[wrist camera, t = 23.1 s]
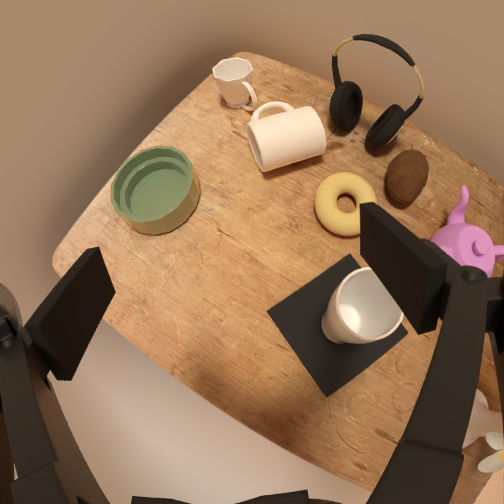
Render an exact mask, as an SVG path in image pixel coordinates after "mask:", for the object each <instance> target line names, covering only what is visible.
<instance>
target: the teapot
mask: <svg viewBox="0 0 504 504" xmlns="http://www.w3.org/2000/svg"><path fill="white" fill-rule="evenodd" d="M468 199H469V194H468V190H467V188H466V186H465V185H463V186H462V195H461V199H460V201H459V202H458V204H457V205H456V206H455V207H454V208H453V209H452V211H451V212H450V214H449V216H448V219H447V225H446V226H444V227H442V228H440V229H439V230H438V231H436V232H435V233H434V234H433V236H432V237H431V238H430V240H429V241H432V242H434V243H435V244H437V245H438V246H439V247H440V248H441V250H444V251H445V252H446V254H448V255H450V256H451V257H452V258H453V259H454V260H455V261H456V262H458V263H459V264H460V265H461V266H464V265H469V266H475V267H478V268H480V269H482V270H484V271H485V273H486V274H487V276H488V278H491V275H492V272H493V268H494V263H495V262H496V261H499V260H502V259H504V245H499V246H493V243H492V241H491V239H490V237H489V236H488V234H487V233H486V232H485V231H484V230H482V229H481V228H479V227H477V226H475V225H471V224H467V223H465V222H464V214H465V210H466V207H467V205H468Z"/></svg>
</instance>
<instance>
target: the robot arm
mask: <svg viewBox="0 0 504 504" xmlns="http://www.w3.org/2000/svg"><path fill="white" fill-rule="evenodd" d="M359 208H360V255H361V256H362V257H363V259H364V260H365V261H366V262H367V264H368V265H369V266H370V268H371V269H372V270H373V272H374V273H375V274H376V276H377V277H378V279H379V280H380V281H381V283H382V284H383V285H384V287H385V288H386V289H387V291H388V292H389V294H390V295H391V296H392V298H393V299H394V301H395V302H396V303H397V305H398V306H399V308H400V309H401V310H402V312H403V313H404V315H405V316H406V318H407V319H408V321H409V322H410V323H411V325H412V326H413V328H414V329H415V331H416V332H417V334H418V335H420V334H423V333H427V332H430V331H433V330H436V326H437V321H438V317H439V318H440V319H441V320H442V321H443V322H442V326H441V330H440V333H439V337H438V340H437V344H436V347H435V350H434V354H433V357H432V360H431V363H430V366H429V369H428V372H427V375H426V378H425V380H424V383H423V386H422V389H421V391H420V394H419V397H418V399H417V402H416V404H415V407H414V409H413V412H412V414H411V417H410V419H409V422H408V424H407V426H406V428H405V431H404V433H403V435H402V437H401V439H400V440H399V442H398V444H397V446H396V448H395V450H394V452H393V455H392V457H391V459H390V461H389V463H388V465H387V466H386V468H385V470H384V472H383V474H382V476H381V478H380V480H379V482H378V483H377V485H376V487H375V489H374V491H373V492H372V494H371V496H370V498H369V499H368V501H367V503H366V504H449V502H450V499H451V497H452V494H453V491H454V489H455V486H456V483H457V480H458V477H459V474H460V471H461V468H462V464H463V461H464V455H462V454H461V451H462V447H463V443H464V440H465V436H466V433H467V429H468V425H469V421H470V417H471V413H472V408H473V404H474V399H475V394H476V389H477V384H478V379H479V373H480V367H481V360H482V353H483V345H484V336H485V333H489V337H490V342H491V347H492V352H493V357H494V362H495V368H496V374H497V380H498V387H499V395H500V403H501V412H502V423H503V437H504V271H503V275H502V277H494V278H488V276H487V274H486V273H485V271H484V270H482V269H480V268H478V267H475V266H469V265H464V266H461V265H460V264H459V263H458V262H456V261H455V260H454V259H453V258H452V257H451V256H450V255H448V254H446V252H445V251H444V250H441V248H440V247H439V246H438V245H437V244H435V243H434V242H432V241H429V240H427V239H425V238H424V239H419V238H418V237H417V236H415V235H414V234H413V233H412V232H411V231H410V230H408V229H407V228H406V227H405V226H403V225H402V224H401V223H400V222H399V221H397V220H396V219H395V218H394V217H392V216H391V215H390V214H389V213H387V212H386V211H385V210H384V209H382V208H381V207H380V206H378V205H377V204H376V203H375V202H367V203H360V204H359ZM115 293H116V292H115V289H114V287H113V284H112V281H111V279H110V276H109V273H108V271H107V268H106V265H105V263H104V260H103V257H102V254H101V251H100V248H99V247H94V248H89V249H86V250H85V252H84V253H83V254H82V255H81V256H80V257H79V258H78V260H77V261H76V262H75V263H74V264H73V265H72V267H71V268H70V269H69V270H68V271H67V273H66V274H65V275H64V276H63V277H62V279H61V280H60V281H59V282H58V284H57V285H56V286H55V287H54V288H53V290H52V291H51V292H50V293H49V295H48V296H47V297H46V298H45V300H44V301H43V302H42V303H41V304H40V306H39V307H38V308H37V310H36V311H35V312H34V313H33V315H32V316H31V318H30V319H29V320H28V321H27V323H26V324H25V326H24V327H23V328H22V330H21V331H20V332H19V330H18V329H17V327H16V325H15V323H14V321H13V319H12V318H11V316H10V315H2V312H1V310H0V504H110V503H109V501H108V500H107V498H106V497H105V495H104V493H103V491H102V490H101V488H100V487H99V485H98V483H97V481H96V479H95V478H94V476H93V474H92V472H91V471H90V469H89V467H88V465H87V463H86V461H85V459H84V457H83V455H82V453H81V451H80V449H79V447H78V445H77V443H76V441H75V439H74V437H73V434H72V432H71V430H70V428H69V426H68V423H67V421H66V419H65V416H64V414H63V412H62V409H61V407H60V404H59V402H58V399H57V397H56V394H55V392H54V389H53V386H52V384H51V382H50V380H49V379H48V377H47V375H48V373H49V371H50V370H51V372H52V373H53V375H54V376H55V378H56V379H57V380H64V381H71V380H72V378H73V376H74V374H75V372H76V370H77V367H78V365H79V363H80V361H81V359H82V357H83V355H84V353H85V351H86V349H87V347H88V344H89V343H90V340H91V339H92V336H93V335H94V333H95V331H96V328H97V327H98V325H99V323H100V321H101V319H102V317H103V315H104V313H105V311H106V309H107V308H108V306H109V304H110V302H111V300H112V298H113V296H114V295H115ZM14 463H15V467H16V471H17V475H18V479H16V480H14ZM131 504H189V503H185V502H182V501H178V500H174V499H166V498H149V497H138V496H132V502H131ZM236 504H341V503H338V502H334V501H329V500H322V499H309V497H308V491H307V490H301V491H295V492H289V493H281V494H273V495H264V496H259V497H256V498H253V499H250V500H247V501H243V502H240V503H236Z"/></svg>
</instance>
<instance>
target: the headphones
mask: <svg viewBox="0 0 504 504" xmlns="http://www.w3.org/2000/svg"><path fill="white" fill-rule="evenodd" d="M352 40H365V41H370V42H374V43H377V44H379V45H381V46H383V47H385V48H387V49H390V50H392V51H393V52H395V53H397V54H398V55H399V56H401V57H402V58H403V59H404V60H405V61H406V62H408V64H409V65H410V66H412V67H413V69H414V70H415V72H416V74H417V76H418V79H419V82H420V86H421V93H420V95H419V96H418V98H417V99H416V101H415V103H414V104H413V105H412V106H411V107H410V108H409V109H407V110H406V111H405V112H404V110H403V109H402V108H401V107H400V106H399V105H397V104H394V105H391V106H390V107H389V108H388V109H387V110H386V111H385V112H384V113H383V114H382V115H381V116H380V117H379V118H378V120H377V121H376V122H375V123H374V125H373V126H372V127H371V129H370V130H369V132H368V133H367V136H366V141H367V143H368V144H369V145H371V146H372V147H381V146H385V145H387V144H388V143H389V142H390V141H391V140H392V139H393V138H394V137H395V136H396V135H397V134H398V133H399V131H400V130H401V128H402V126H403V125H404V123H405V120H406V119H407V118H408V117H409V116H410V115H411V114H412V113H413V112H414V111H415V110H416V109H417V108H418V107H419V105H420V103H421V101H422V100H423V94H424V86H423V81H422V78H421V75H420V73H419V71H418V69H417V68H416V66H415V63H414V61H413V60H412V58H411V57H410V56H409V54H408V53H406V51H404V49H402V48H401V47H400V46H399V45H398V44H396V43H394V42H393V41H391V40H389V39H387V38H384V37H381V36H378V35H370V34H361V35H356V36H353V37H351V38H349V39H346V40H344V41H342V42H341V43H340V44H339V45H338V46H337V47H336V49H335V50H334V53H333V55H332V70H333V77H334V83H335V89H334V91H333V92H332V94H331V97H330V100H329V114H330V117H331V119H332V121H333V123H334V125H335V126H336V127H337V128H339V129H342V130H349V129H351V128H353V127H354V126H355V125H356V123H357V122H358V120H359V117H360V115H361V111H362V105H363V97H362V92H361V89H360V88H359V86H358V85H357V84H355V83H354V82H350V81H346V82H343V83H341V79H340V74H339V70H338V63H337V51H338V49H339V48H340V47H341V46H342V45H343V44H345V43H346V42H349V41H352Z"/></svg>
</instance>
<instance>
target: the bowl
mask: <svg viewBox="0 0 504 504" xmlns="http://www.w3.org/2000/svg"><path fill="white" fill-rule="evenodd" d="M199 196H200V189H199V181H198V178H197V176H196V173H195V171H194V168H193V166H192V164H191V162H190V161H189V159H188V158H187V156H186V155H185V154H184V153H183V152H181V151H179V150H177V149H175V148H173V147H168V146H155V147H151V148H147V149H144V150H141V151H140V152H138V153H136V154H135V155H133V156H132V157H130V158H129V159H127V161H126V162H125V163H124V164H123V165H122V166H121V167H120V169H119V170H118V171H117V173H116V175H115V178H114V180H113V182H112V185H111V201H112V203H113V206H114V208H115V210H116V212H117V213H118V214H119V215H120V216H121V217H122V218H123V219H124V220H125V221H126V222H127V223H128V224H129V225H130V226H131V227H133V228H134V229H135V230H137V231H138V232H140V233H146V234H151V235H157V234H161V233H166V232H170V231H172V230H173V229H175V228H176V227H178V226H180V225H181V224H183V223H184V222H185V221H186V220H187V219H188V218H189V216H190V215H191V214H192V212H193V211H194V210H195V208H196V205H197V202H198V199H199Z"/></svg>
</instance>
